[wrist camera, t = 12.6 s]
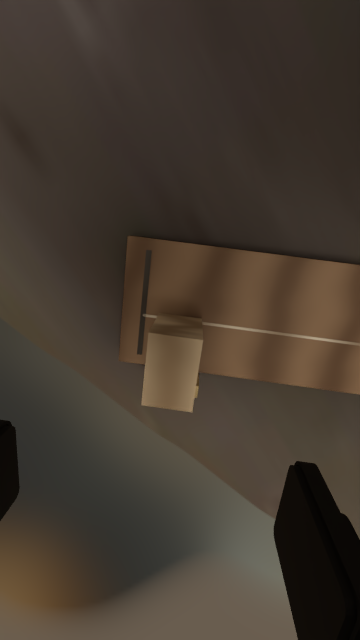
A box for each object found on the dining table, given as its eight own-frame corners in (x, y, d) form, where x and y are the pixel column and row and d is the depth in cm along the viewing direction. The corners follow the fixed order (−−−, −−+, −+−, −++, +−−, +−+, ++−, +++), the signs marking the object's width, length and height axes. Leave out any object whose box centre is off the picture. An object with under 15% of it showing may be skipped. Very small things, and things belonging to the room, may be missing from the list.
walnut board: (450, 276, 27) (475, 280, 25) (407, 390, 30) (426, 403, 28) (133, 236, 28) (127, 235, 25) (124, 351, 31) (118, 361, 29)
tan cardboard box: (206, 313, 29) (210, 341, 21) (197, 377, 31) (196, 424, 23) (157, 306, 29) (141, 331, 21) (150, 370, 31) (134, 415, 23)
